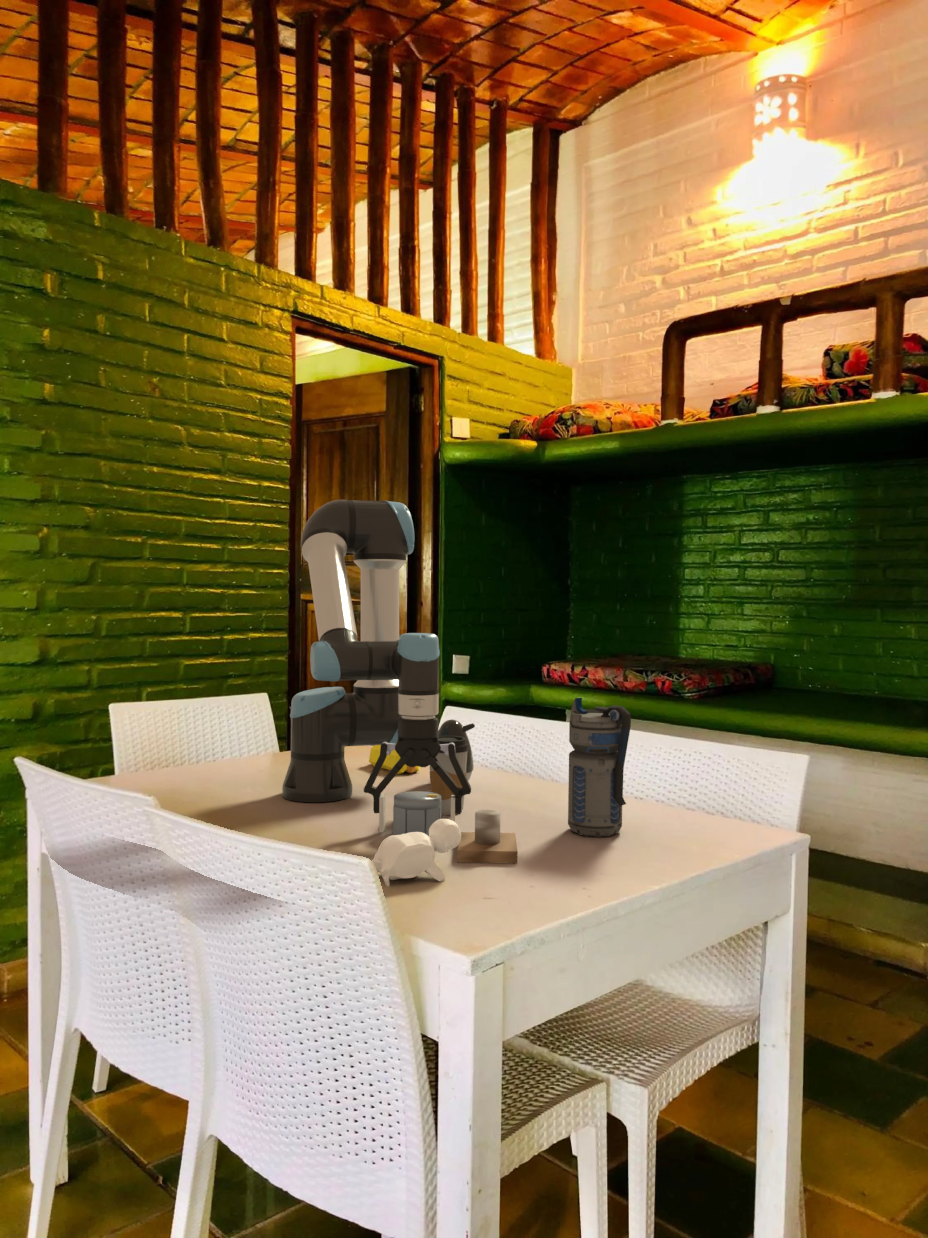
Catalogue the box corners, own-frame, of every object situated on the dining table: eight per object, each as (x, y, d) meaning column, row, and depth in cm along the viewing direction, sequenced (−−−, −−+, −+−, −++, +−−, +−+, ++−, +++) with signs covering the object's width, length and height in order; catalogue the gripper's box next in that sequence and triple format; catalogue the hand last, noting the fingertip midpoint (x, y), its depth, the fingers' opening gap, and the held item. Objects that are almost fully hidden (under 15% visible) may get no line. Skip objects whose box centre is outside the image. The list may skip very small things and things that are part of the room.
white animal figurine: (397, 907, 148) (479, 861, 154) (379, 859, 147) (461, 814, 152) (377, 891, 156) (455, 847, 162) (359, 845, 154) (439, 802, 160)
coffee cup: (474, 809, 200) (475, 737, 199) (457, 818, 192) (458, 743, 192) (438, 805, 203) (439, 734, 203) (420, 813, 196) (420, 740, 195)
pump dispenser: (474, 790, 219) (474, 723, 218) (428, 789, 219) (428, 722, 218) (474, 780, 229) (475, 716, 228) (430, 780, 229) (431, 716, 228)
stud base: (457, 862, 162) (458, 821, 161) (459, 843, 174) (459, 804, 173) (517, 863, 162) (517, 821, 161) (515, 844, 174) (515, 805, 173)
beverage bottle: (609, 844, 174) (611, 706, 173) (554, 830, 184) (555, 699, 183) (643, 834, 181) (645, 701, 180) (588, 821, 191) (590, 695, 190)
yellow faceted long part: (400, 777, 233) (427, 774, 237) (400, 750, 232) (427, 747, 237) (362, 765, 247) (388, 762, 252) (363, 739, 247) (388, 737, 251)
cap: (391, 839, 176) (391, 799, 175) (395, 827, 184) (396, 789, 184) (439, 840, 175) (440, 800, 175) (441, 828, 184) (442, 789, 184)
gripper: (349, 718, 176) (348, 835, 176) (484, 720, 175) (483, 837, 176) (354, 713, 183) (354, 825, 184) (484, 714, 183) (483, 826, 183)
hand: (417, 831), depth 180 cm, fingers open, 12 cm apart
